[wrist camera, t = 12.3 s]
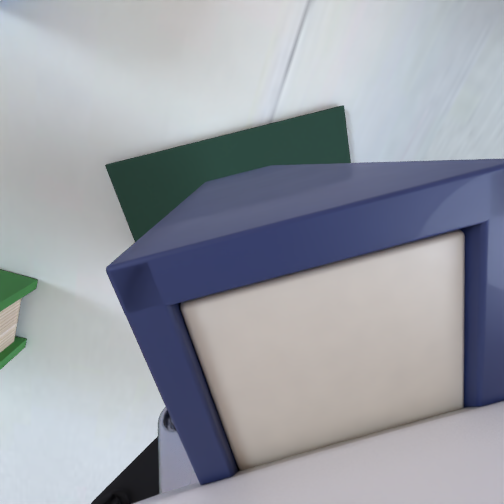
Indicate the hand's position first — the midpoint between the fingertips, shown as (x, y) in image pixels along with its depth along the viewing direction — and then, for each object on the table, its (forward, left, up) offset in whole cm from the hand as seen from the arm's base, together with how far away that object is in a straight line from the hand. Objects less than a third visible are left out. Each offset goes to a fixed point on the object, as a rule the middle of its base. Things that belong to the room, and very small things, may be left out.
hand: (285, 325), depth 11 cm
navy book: (0, 0, -9) cm, 9 cm away
